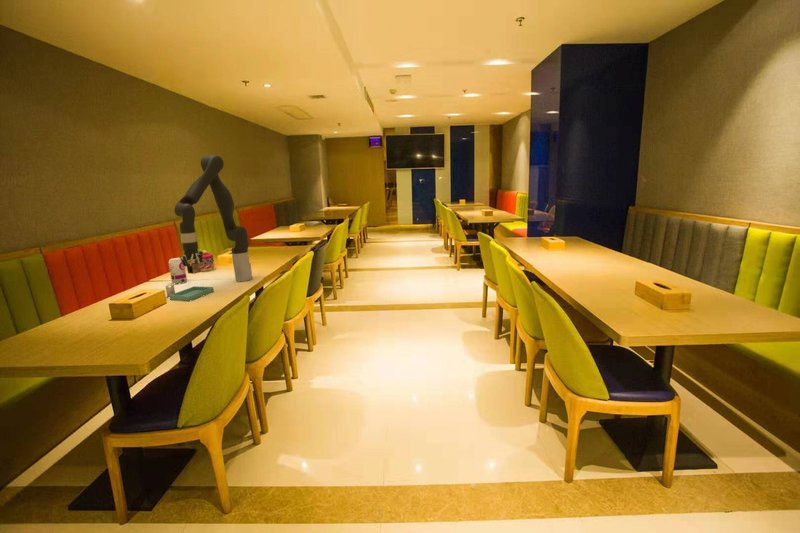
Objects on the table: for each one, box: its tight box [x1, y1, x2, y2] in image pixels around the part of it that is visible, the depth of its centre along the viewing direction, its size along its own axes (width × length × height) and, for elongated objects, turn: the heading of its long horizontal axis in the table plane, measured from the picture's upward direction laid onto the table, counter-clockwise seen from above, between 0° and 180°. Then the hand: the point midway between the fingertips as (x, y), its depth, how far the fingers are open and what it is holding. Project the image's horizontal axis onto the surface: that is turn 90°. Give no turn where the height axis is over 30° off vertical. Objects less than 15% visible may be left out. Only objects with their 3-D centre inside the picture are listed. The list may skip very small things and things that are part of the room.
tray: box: [169, 285, 215, 302], centre depth 221 cm, size 17×13×3 cm
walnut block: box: [186, 262, 202, 275], centre depth 221 cm, size 4×4×5 cm
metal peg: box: [165, 284, 176, 298], centre depth 221 cm, size 4×4×6 cm
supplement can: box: [168, 257, 188, 285], centre depth 249 cm, size 8×8×15 cm
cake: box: [198, 248, 215, 273], centre depth 279 cm, size 10×11×15 cm
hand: (194, 271), depth 222 cm, fingers closed on walnut block, 4 cm apart
